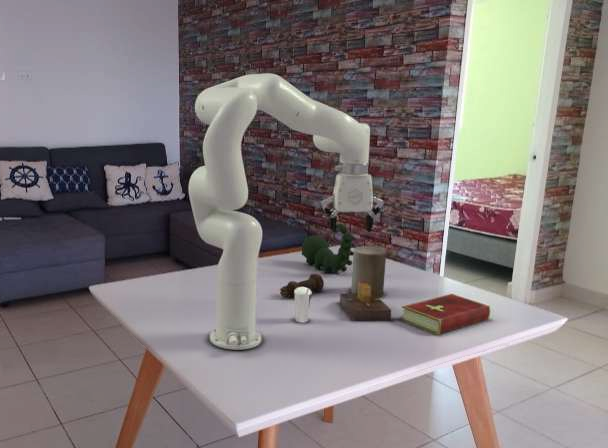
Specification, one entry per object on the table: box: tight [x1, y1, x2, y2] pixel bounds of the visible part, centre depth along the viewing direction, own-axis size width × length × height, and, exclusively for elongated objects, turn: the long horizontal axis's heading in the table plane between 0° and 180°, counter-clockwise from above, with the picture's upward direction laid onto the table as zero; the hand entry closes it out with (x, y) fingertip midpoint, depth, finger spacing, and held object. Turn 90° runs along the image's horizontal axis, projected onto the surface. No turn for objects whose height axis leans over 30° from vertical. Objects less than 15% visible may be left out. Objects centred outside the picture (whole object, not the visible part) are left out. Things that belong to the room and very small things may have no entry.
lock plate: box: [339, 292, 392, 322], centre depth 158 cm, size 14×10×3 cm
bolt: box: [279, 273, 325, 298], centre depth 171 cm, size 6×5×15 cm
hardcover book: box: [400, 293, 491, 336], centre depth 152 cm, size 12×21×4 cm, turn 121°
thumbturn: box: [358, 281, 371, 303], centre depth 158 cm, size 5×2×5 cm, turn 3°
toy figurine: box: [301, 223, 356, 274], centre depth 197 cm, size 9×19×25 cm
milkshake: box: [294, 287, 313, 324], centre depth 149 cm, size 4×5×10 cm
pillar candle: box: [350, 245, 387, 298], centre depth 172 cm, size 10×10×15 cm
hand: (350, 231), depth 156 cm, fingers open, 9 cm apart
